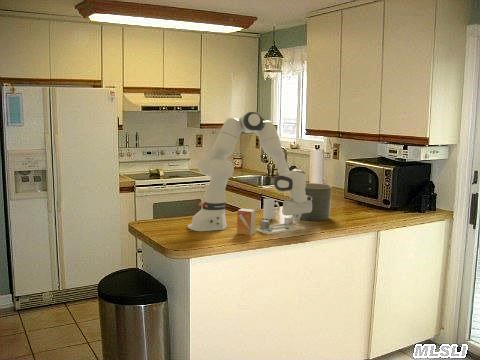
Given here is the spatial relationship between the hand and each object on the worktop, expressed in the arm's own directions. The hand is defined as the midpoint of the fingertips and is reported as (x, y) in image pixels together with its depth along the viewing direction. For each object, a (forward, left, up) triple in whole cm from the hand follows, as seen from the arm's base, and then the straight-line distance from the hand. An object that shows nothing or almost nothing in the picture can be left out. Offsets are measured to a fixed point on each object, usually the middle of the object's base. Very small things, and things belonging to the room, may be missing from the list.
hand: (296, 221), depth 289 cm
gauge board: (-15, -2, -3) cm, 15 cm away
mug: (0, +23, -3) cm, 24 cm away
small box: (-35, +1, -3) cm, 35 cm away
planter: (+26, +14, -3) cm, 30 cm away
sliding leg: (-6, -2, -1) cm, 7 cm away
